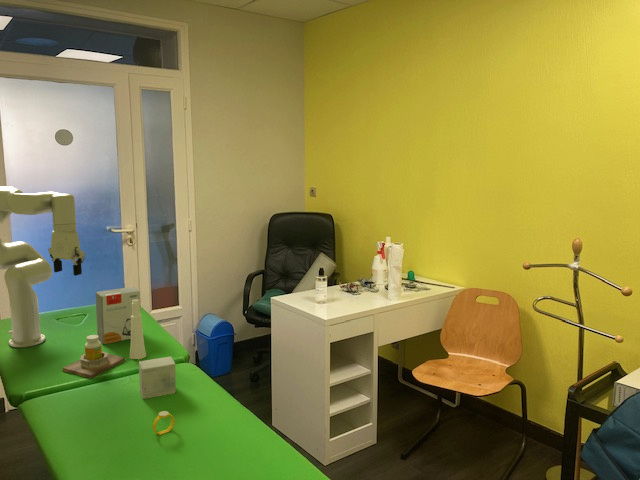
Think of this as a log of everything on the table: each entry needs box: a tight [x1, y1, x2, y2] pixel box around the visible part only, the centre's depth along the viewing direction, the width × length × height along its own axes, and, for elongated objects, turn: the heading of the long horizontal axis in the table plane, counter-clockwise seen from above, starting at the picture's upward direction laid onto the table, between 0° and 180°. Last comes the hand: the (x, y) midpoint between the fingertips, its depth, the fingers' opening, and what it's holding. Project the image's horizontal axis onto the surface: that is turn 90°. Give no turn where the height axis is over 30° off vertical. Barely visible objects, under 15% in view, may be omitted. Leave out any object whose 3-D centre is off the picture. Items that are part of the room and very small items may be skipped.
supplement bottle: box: [84, 334, 102, 360], centre depth 187 cm, size 5×5×10 cm
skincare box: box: [138, 356, 177, 400], centre depth 169 cm, size 10×6×10 cm, turn 117°
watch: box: [152, 410, 176, 436], centre depth 147 cm, size 6×3×6 cm, turn 133°
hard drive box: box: [95, 286, 142, 345], centre depth 212 cm, size 16×8×20 cm, turn 129°
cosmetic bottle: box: [129, 299, 147, 360], centre depth 195 cm, size 6×6×22 cm
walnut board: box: [62, 351, 126, 379], centre depth 188 cm, size 13×16×4 cm
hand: (67, 273), depth 195 cm, fingers open, 9 cm apart
